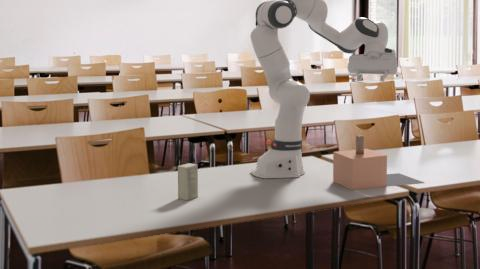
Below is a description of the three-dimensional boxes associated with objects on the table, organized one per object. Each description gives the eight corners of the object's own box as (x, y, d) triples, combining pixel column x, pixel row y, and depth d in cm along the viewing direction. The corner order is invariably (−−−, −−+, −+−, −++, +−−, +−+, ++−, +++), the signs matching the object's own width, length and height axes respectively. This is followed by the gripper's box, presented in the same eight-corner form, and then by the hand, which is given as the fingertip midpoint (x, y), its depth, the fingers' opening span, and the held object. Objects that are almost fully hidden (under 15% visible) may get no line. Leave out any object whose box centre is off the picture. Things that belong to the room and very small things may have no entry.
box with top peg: (352, 190, 257) (352, 140, 253) (333, 181, 271) (333, 134, 267) (386, 186, 262) (387, 137, 259) (365, 177, 276) (366, 131, 272)
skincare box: (189, 195, 248) (189, 162, 246) (198, 197, 246) (198, 164, 244) (177, 198, 244) (177, 165, 242) (186, 200, 241) (186, 167, 239)
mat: (385, 187, 261) (386, 186, 261) (361, 177, 278) (361, 176, 278) (425, 183, 268) (425, 182, 268) (398, 174, 284) (399, 173, 284)
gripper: (349, 49, 285) (344, 74, 277) (398, 50, 278) (395, 75, 270) (350, 59, 289) (345, 84, 282) (399, 60, 283) (395, 86, 275)
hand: (370, 80), depth 276 cm, fingers open, 8 cm apart
